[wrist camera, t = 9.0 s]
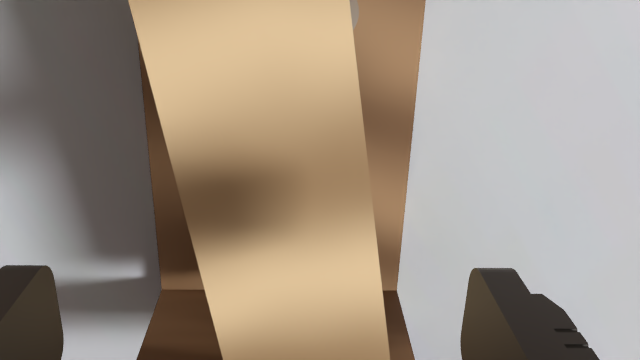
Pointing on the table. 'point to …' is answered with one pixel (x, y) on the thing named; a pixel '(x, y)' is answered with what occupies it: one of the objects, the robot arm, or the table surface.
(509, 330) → the robot arm
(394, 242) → the peg rack
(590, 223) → the table surface
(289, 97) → the shelf board
